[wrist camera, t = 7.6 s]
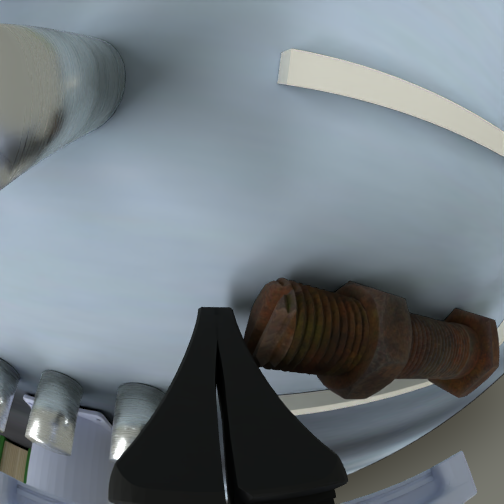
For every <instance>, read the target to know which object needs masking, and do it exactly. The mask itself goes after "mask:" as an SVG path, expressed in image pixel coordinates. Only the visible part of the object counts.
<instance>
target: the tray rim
mask: <svg viewBox="0 0 504 504" xmlns="http://www.w3.org/2000/svg"><path fill="white" fill-rule="evenodd" d="M277 84H283V85H290V86H296V87H302V88H308V89H313V90H319V91H324V92H328V93H333V94H338V95H342V96H346V97H350V98H354V99H358V100H362V101H366V102H370V103H373V104H377V105H380V106H383V107H387V108H390V109H393V110H396V111H399V112H402V113H405V114H408V115H411V116H414V117H417V118H420V119H422V120H425V121H428V122H430V123H433V124H435V125H438V126H440V127H443V128H445V129H447V130H450V131H452V132H454V133H457V134H459V135H461V136H463V137H466V138H468V139H470V140H472V141H474V142H476V143H478V144H480V145H482V146H484V147H486V148H488V149H490V150H492V151H494V152H496V153H498V154H499V155H501V156H503V157H504V131H502V130H500V129H499V128H497V127H496V126H494V125H493V124H491V123H489V122H488V121H486V120H485V119H483V118H481V117H479V116H478V115H476V114H474V113H473V112H471V111H469V110H467V109H465V108H463V107H462V106H460V105H458V104H456V103H454V102H452V101H450V100H448V99H446V98H444V97H442V96H440V95H438V94H436V93H433V92H431V91H429V90H427V89H424V88H422V87H420V86H417V85H415V84H413V83H410V82H408V81H405V80H403V79H400V78H397V77H395V76H392V75H389V74H387V73H384V72H381V71H378V70H375V69H372V68H369V67H366V66H362V65H359V64H356V63H352V62H349V61H345V60H341V59H337V58H333V57H329V56H325V55H321V54H316V53H312V52H307V51H302V50H296V49H289V50H286V51H284V52H281V59H280V67H279V75H278V82H277ZM497 331H498V337H499V346H500V345H501V344H502V343H503V341H504V320H503V322H502V323H501V324H500V326H499V327H498V329H497ZM432 384H433V383H431V382H430V381H428V379H394V380H393V381H392V382H391V383H390V384H389V385H387V386H386V387H385V388H383V389H382V390H380V391H379V392H377V393H376V394H374V395H372V396H370V397H368V398H367V399H344V398H342V397H340V396H339V395H337V394H335V393H333V392H332V391H331V390H324V391H316V392H308V393H300V394H290V395H279V396H278V397H279V398H280V399H281V400H282V402H283V403H284V404H285V405H286V407H287V408H288V409H289V410H290V411H291V412H292V413H293V414H294V415H301V414H309V413H315V412H322V411H328V410H334V409H339V408H345V407H350V406H355V405H359V404H364V403H368V402H373V401H377V400H381V399H385V398H389V397H392V396H396V395H400V394H403V393H407V392H410V391H413V390H416V389H420V388H423V387H426V386H429V385H432Z"/></svg>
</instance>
